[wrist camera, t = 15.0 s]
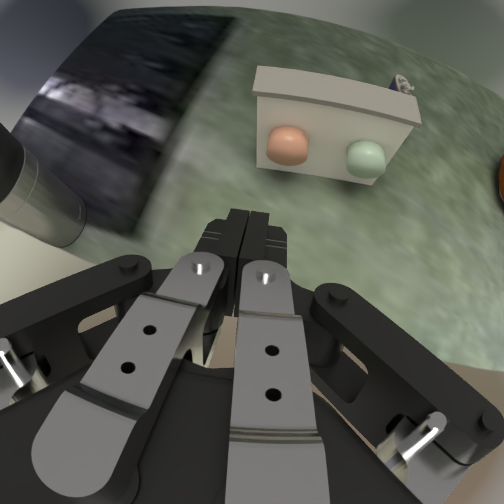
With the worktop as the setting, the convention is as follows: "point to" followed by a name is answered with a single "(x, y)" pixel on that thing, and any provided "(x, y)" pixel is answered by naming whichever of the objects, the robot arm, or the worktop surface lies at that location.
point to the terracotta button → (287, 146)
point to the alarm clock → (501, 179)
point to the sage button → (366, 159)
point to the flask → (401, 85)
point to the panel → (330, 118)
